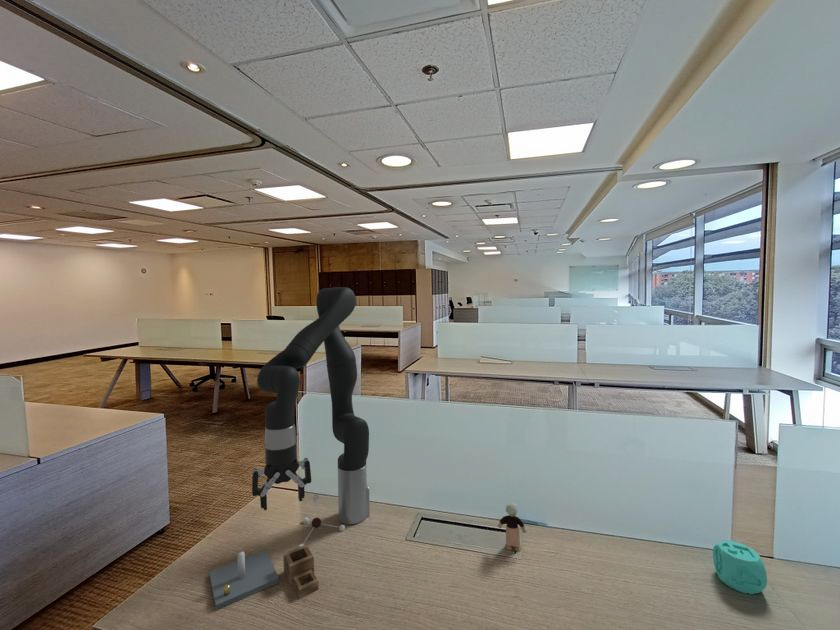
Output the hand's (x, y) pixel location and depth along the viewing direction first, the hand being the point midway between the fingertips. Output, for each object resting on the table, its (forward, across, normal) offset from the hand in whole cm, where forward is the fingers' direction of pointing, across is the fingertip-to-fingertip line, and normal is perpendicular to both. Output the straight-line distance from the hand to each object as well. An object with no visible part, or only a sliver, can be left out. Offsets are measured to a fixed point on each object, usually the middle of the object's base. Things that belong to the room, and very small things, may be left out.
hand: (283, 504), depth 95 cm
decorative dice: (+19, -100, +55) cm, 116 cm away
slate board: (+18, +10, -3) cm, 21 cm away
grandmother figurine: (+19, -59, +19) cm, 65 cm away
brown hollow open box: (+19, -3, +4) cm, 19 cm away
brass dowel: (+17, +13, +2) cm, 22 cm away
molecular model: (+19, -12, -13) cm, 26 cm away
